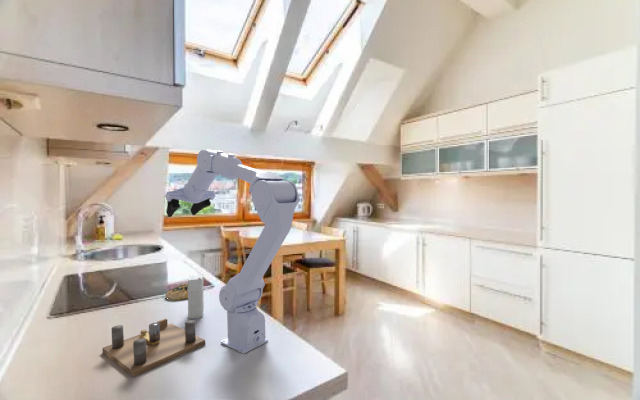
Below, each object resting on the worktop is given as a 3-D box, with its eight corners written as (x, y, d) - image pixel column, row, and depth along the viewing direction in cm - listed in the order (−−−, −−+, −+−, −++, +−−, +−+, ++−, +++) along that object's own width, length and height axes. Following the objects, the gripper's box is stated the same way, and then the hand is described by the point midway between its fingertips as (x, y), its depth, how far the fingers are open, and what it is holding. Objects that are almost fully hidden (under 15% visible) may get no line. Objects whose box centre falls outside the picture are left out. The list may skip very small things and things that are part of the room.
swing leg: (138, 338, 81) (137, 319, 81) (147, 334, 83) (147, 316, 83) (152, 346, 77) (151, 327, 76) (162, 343, 78) (161, 323, 78)
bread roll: (189, 289, 125) (189, 277, 125) (203, 298, 118) (203, 286, 118) (160, 297, 117) (160, 284, 116) (173, 308, 110) (173, 295, 109)
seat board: (205, 344, 80) (204, 321, 80) (133, 376, 66) (132, 349, 66) (171, 327, 90) (170, 306, 90) (102, 352, 77) (101, 328, 76)
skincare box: (189, 312, 102) (188, 274, 101) (204, 310, 103) (203, 273, 102) (187, 319, 96) (186, 280, 95) (203, 317, 97) (202, 278, 97)
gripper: (215, 174, 97) (197, 202, 104) (169, 172, 86) (152, 204, 92) (224, 191, 95) (205, 219, 101) (178, 191, 83) (160, 223, 90)
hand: (180, 213), depth 97 cm, fingers open, 7 cm apart
